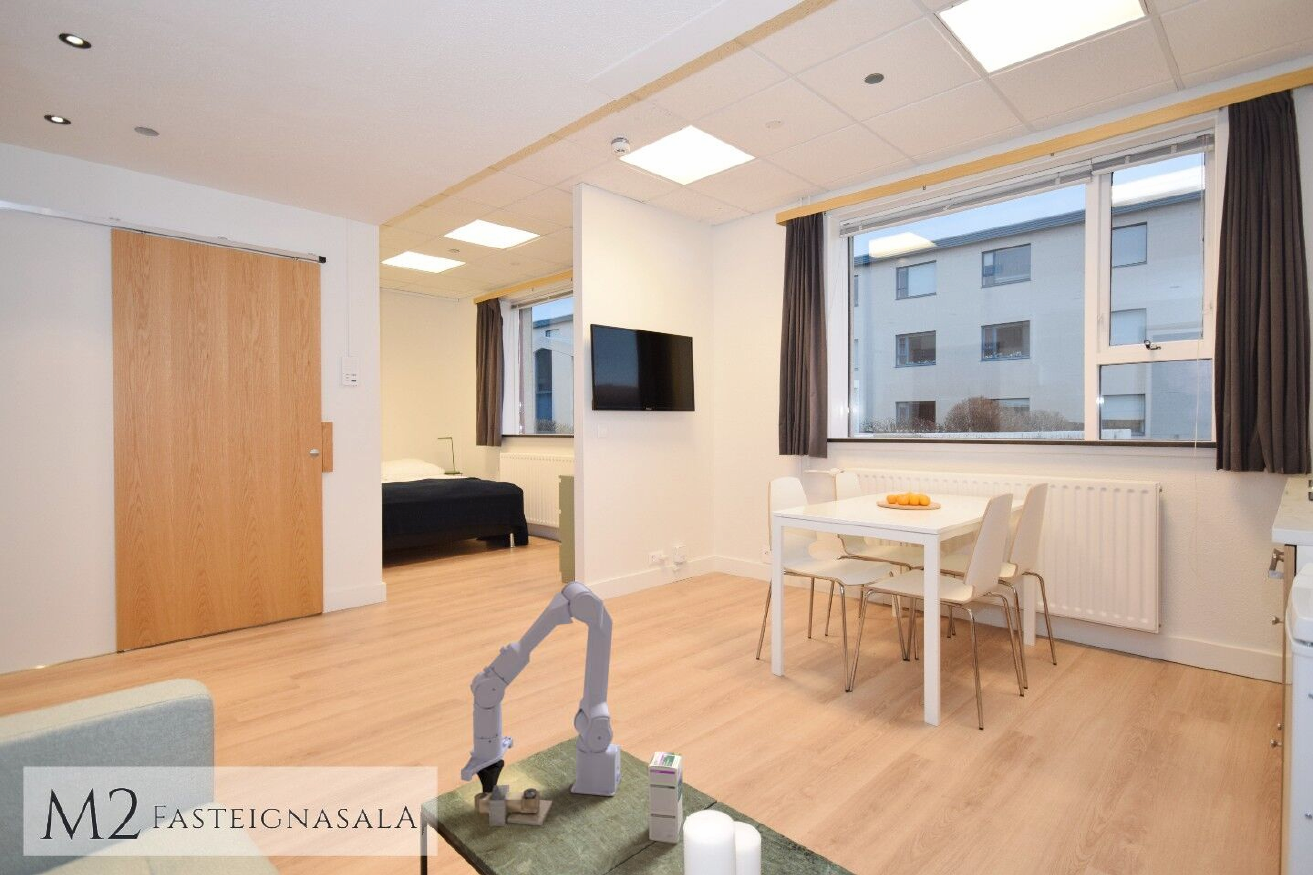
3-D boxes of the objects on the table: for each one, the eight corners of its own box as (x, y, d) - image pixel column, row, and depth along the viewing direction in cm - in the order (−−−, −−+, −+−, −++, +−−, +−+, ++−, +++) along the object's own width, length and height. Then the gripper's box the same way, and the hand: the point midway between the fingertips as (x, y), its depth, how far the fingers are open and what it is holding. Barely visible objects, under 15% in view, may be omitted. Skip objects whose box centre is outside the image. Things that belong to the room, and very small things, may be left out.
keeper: (509, 809, 133) (509, 784, 132) (504, 825, 127) (504, 800, 127) (494, 809, 132) (494, 785, 132) (489, 826, 127) (489, 800, 127)
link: (539, 803, 133) (539, 791, 133) (536, 812, 130) (536, 800, 130) (476, 803, 133) (476, 791, 133) (472, 812, 129) (472, 800, 129)
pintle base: (552, 804, 134) (552, 783, 134) (541, 825, 127) (541, 803, 127) (520, 801, 135) (519, 780, 135) (507, 822, 128) (507, 800, 128)
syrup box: (678, 844, 122) (678, 768, 121) (647, 840, 123) (647, 764, 122) (683, 825, 127) (683, 752, 127) (654, 822, 128) (654, 749, 128)
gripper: (493, 713, 141) (494, 774, 141) (448, 744, 128) (449, 812, 128) (521, 719, 138) (521, 781, 139) (477, 752, 125) (478, 820, 125)
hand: (488, 796), depth 133 cm, fingers closed, pressing on keeper, link
